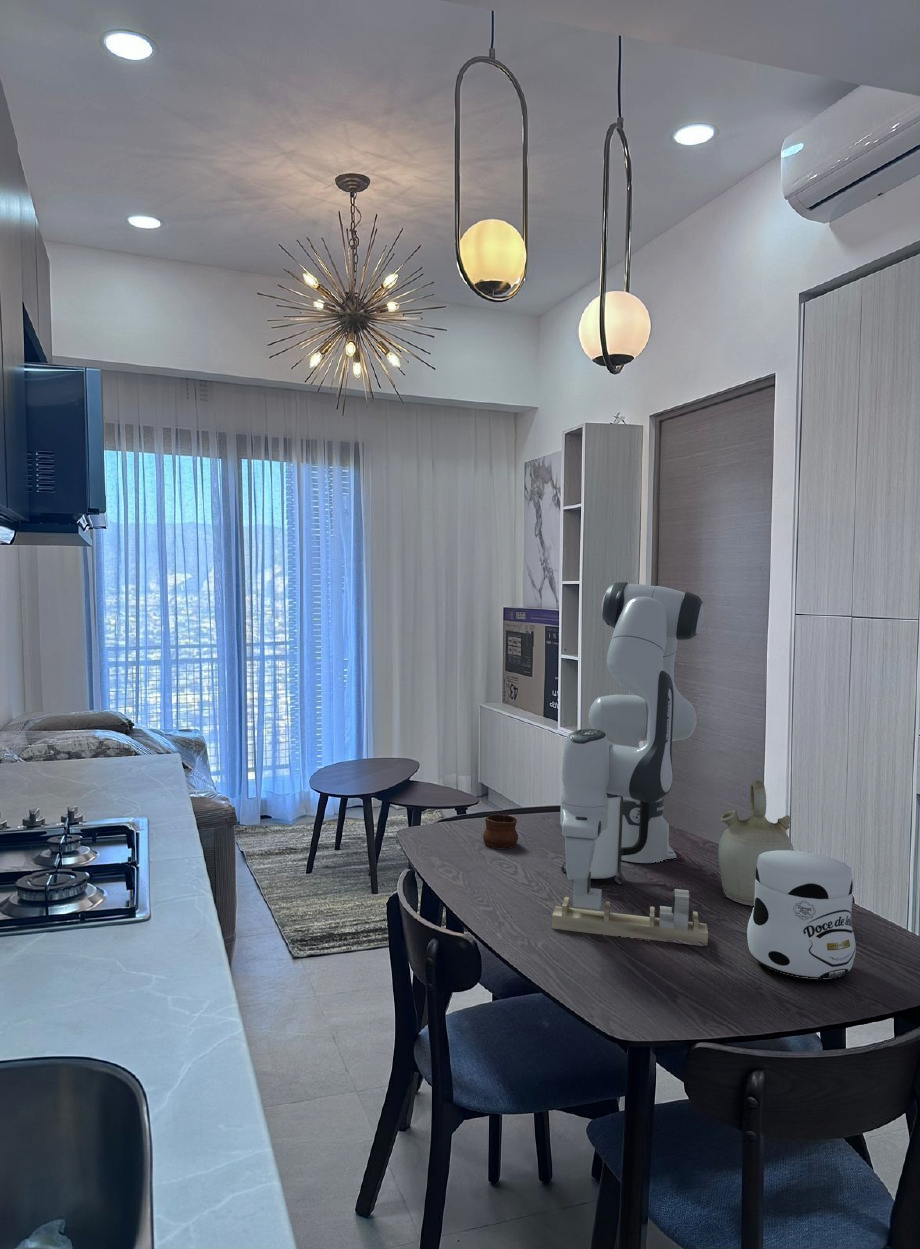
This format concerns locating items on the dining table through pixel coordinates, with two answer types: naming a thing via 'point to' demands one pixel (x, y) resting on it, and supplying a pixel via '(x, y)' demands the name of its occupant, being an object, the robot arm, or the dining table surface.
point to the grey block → (588, 896)
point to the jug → (749, 845)
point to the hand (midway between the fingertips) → (580, 889)
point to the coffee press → (616, 841)
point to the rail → (635, 921)
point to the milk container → (802, 915)
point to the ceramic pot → (500, 831)
